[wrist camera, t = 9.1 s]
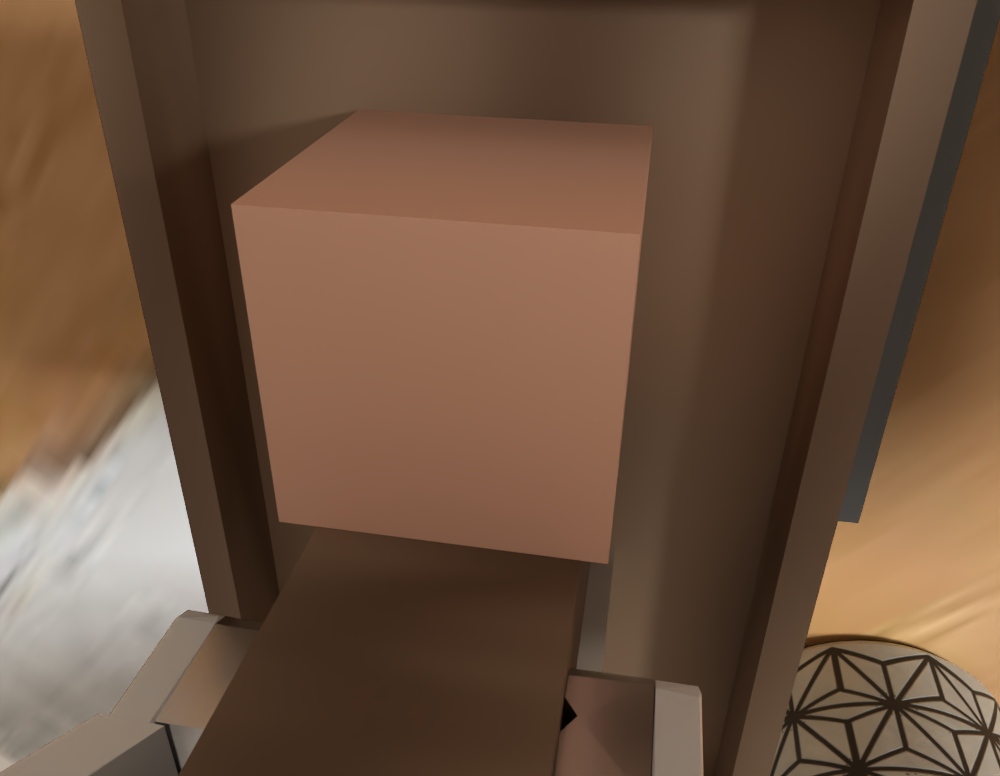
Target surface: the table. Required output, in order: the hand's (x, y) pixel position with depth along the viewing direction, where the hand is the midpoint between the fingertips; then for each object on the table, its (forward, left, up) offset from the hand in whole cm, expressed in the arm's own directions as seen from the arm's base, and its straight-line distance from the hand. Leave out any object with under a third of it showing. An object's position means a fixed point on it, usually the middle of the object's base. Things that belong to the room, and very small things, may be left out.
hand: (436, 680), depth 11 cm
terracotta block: (0, -4, -5) cm, 6 cm away
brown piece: (0, 0, -6) cm, 6 cm away
